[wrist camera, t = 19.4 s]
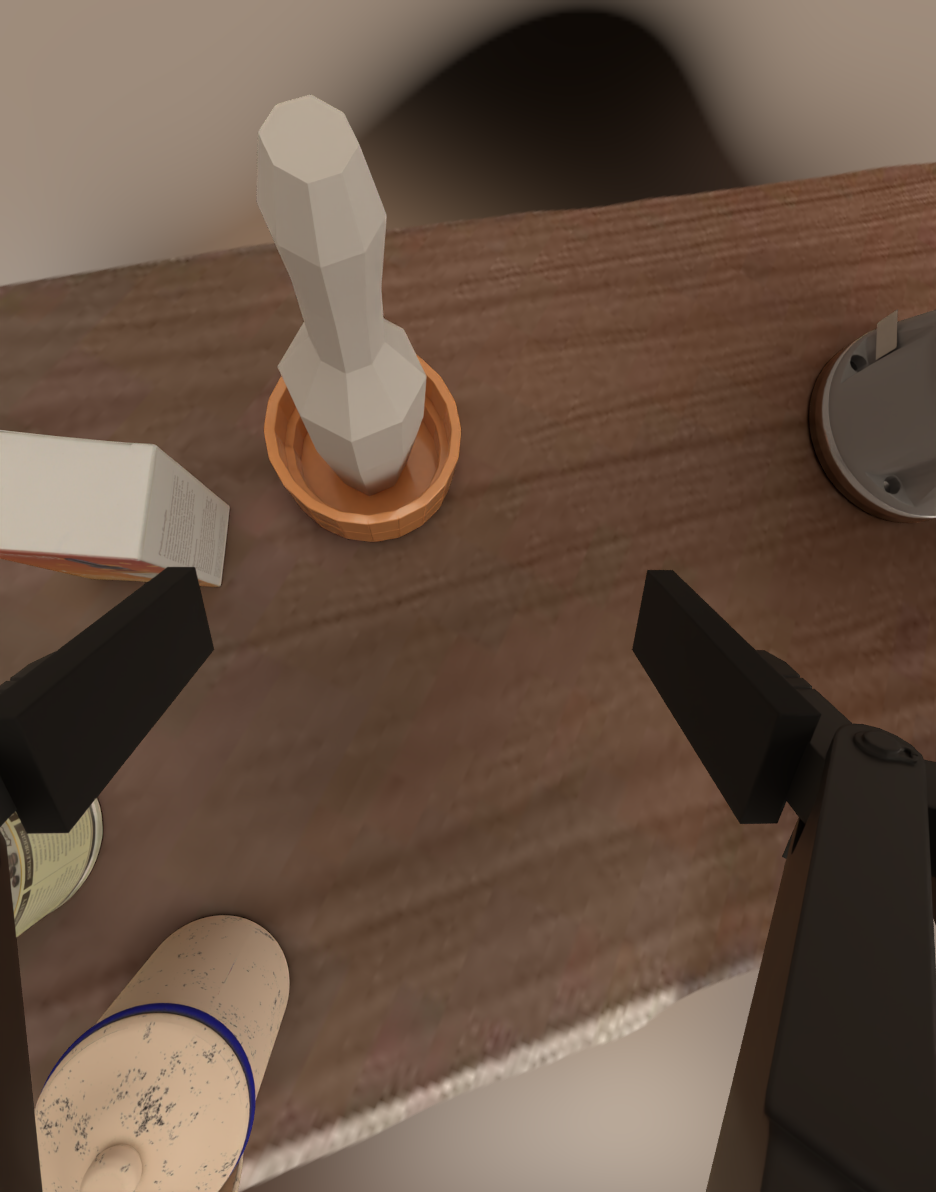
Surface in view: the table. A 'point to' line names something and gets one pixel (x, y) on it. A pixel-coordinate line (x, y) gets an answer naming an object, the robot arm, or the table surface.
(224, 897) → the table surface
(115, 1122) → the teacup with lid
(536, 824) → the table surface
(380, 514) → the bowl
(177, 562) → the small box
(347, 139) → the low poly bottle
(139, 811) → the table surface
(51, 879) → the coffee can
